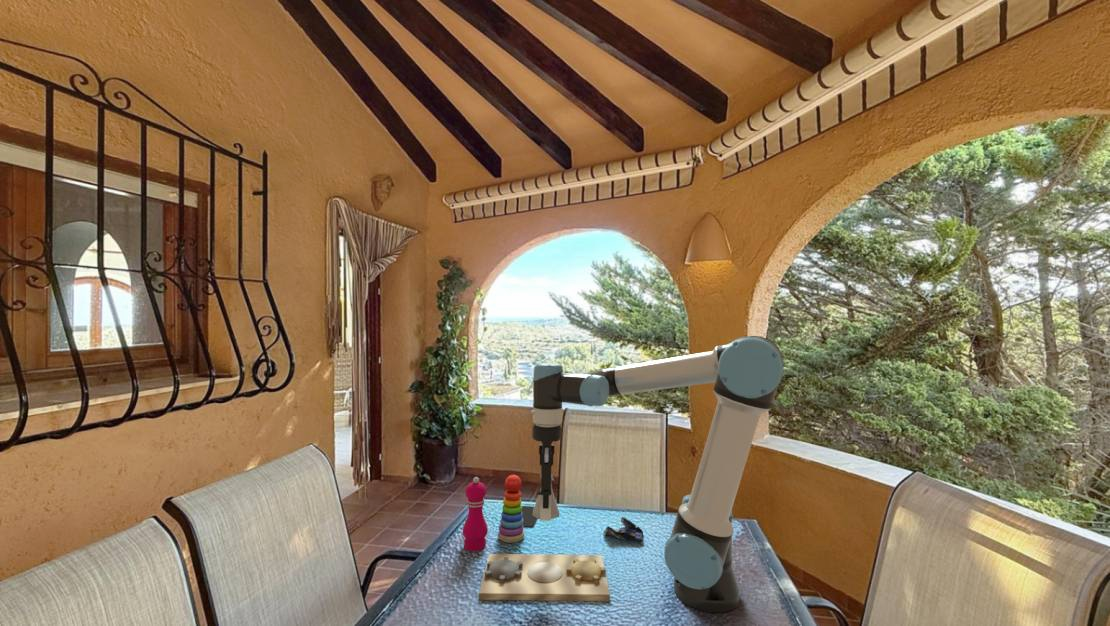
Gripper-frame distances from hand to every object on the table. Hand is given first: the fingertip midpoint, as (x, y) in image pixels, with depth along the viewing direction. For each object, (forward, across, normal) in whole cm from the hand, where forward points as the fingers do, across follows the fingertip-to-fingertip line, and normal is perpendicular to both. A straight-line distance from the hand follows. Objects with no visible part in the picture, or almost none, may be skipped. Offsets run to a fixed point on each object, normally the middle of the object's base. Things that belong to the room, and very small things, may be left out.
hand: (545, 513), depth 117 cm
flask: (+1, 0, 0) cm, 1 cm away
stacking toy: (+17, -22, -10) cm, 29 cm away
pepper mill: (+17, -16, -21) cm, 31 cm away
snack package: (+17, -23, +24) cm, 38 cm away
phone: (+17, -36, -6) cm, 41 cm away
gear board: (+17, 0, 0) cm, 17 cm away
